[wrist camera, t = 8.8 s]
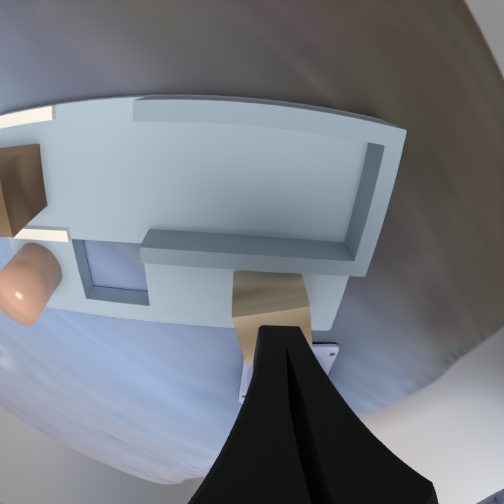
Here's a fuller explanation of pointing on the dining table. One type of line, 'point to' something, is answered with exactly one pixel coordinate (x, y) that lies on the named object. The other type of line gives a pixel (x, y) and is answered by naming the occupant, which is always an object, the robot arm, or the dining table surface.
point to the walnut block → (20, 187)
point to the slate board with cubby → (207, 197)
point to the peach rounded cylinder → (28, 283)
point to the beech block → (268, 305)
